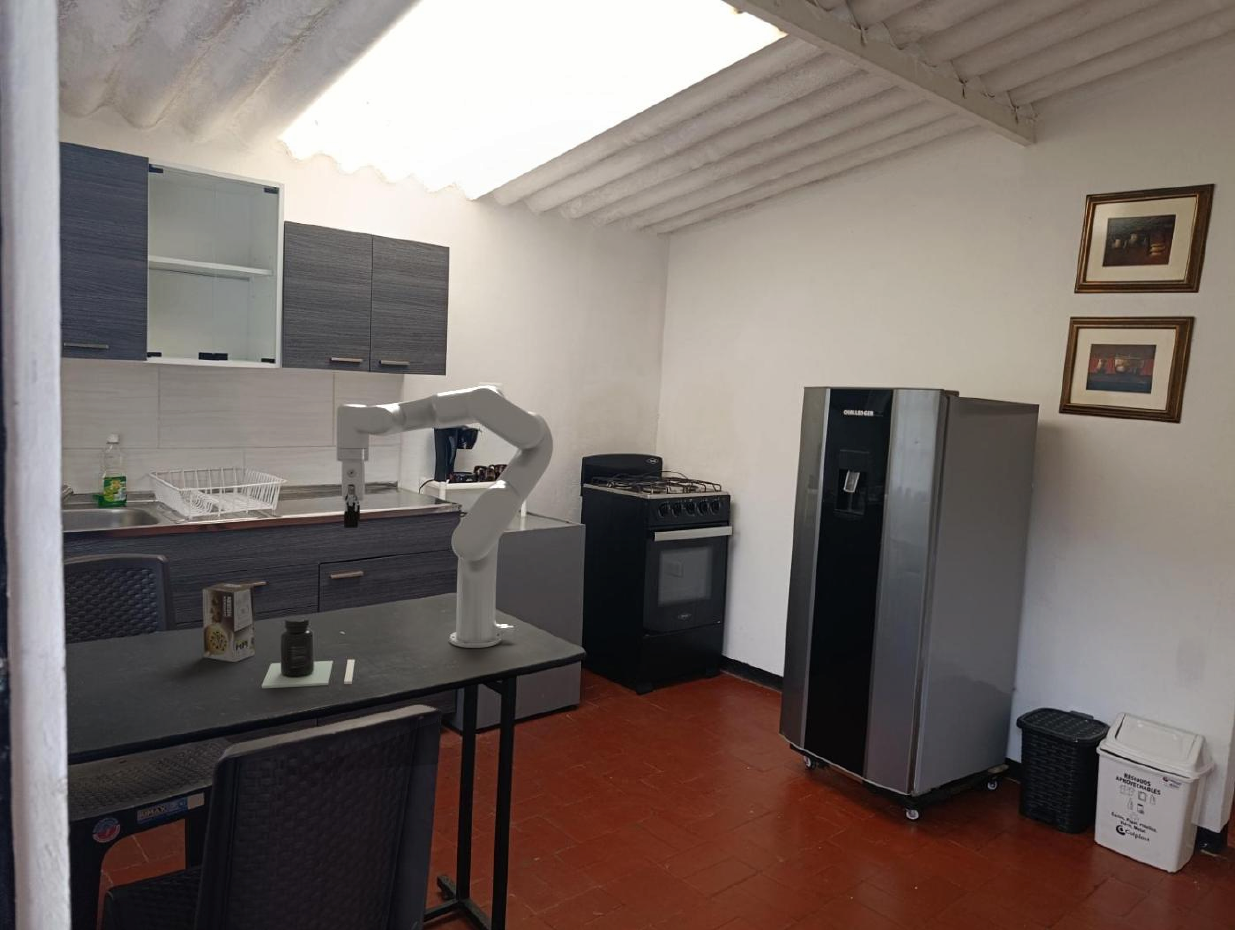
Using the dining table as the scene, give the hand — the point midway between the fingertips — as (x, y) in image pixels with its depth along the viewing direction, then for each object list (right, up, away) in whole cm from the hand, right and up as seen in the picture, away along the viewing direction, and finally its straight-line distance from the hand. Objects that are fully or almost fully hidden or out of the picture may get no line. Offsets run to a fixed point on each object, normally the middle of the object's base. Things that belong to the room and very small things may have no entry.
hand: (352, 524), depth 209 cm
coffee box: (-23, -29, -15) cm, 40 cm away
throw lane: (-1, -31, -25) cm, 40 cm away
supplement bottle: (-4, -31, -26) cm, 40 cm away
